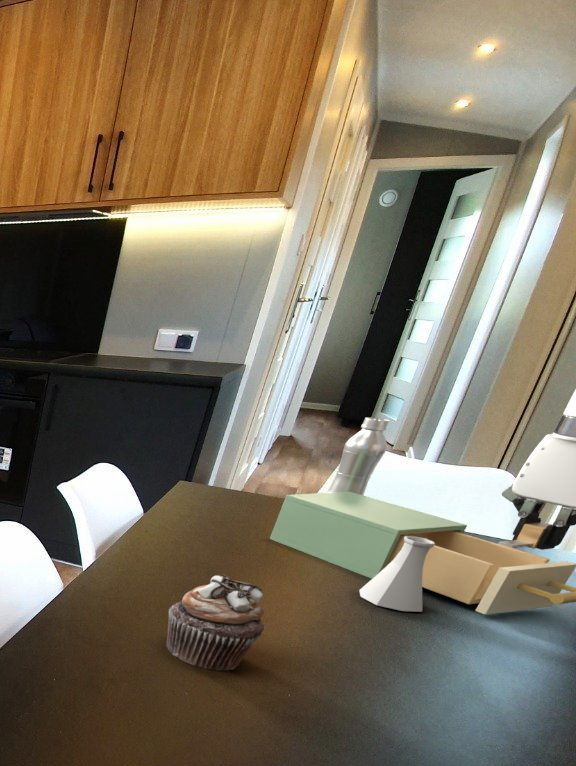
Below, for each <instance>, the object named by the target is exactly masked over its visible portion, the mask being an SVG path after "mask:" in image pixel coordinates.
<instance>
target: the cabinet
mask: <svg viewBox="0 0 576 766" xmlns="http://www.w3.org/2000/svg"><path fill="white" fill-rule="evenodd" d="M467 527H468V524H465V523H461V522H458V521H455V520H451V519H447V518H443V517H440V516H437V515H433V514H430V513H425V512H422V511H419V510H416V509H413V508H409V507H404V506H401V505H398V504H394V503H391V502H387V501H384V500H380V499H377V498H374V497H370V496H365V495H364V496H363V495H359V494H356V493H352V492H331V493H326V492H315V493H313V492H312V493H298V494H296V493H295V494H286V496H285V499H284V500H283V503H282V506H281V509H280V511H279V513H278V516H277V518H276V521H275V524H274V526H273V529H272V532H271V533H270V537H269V540H271V541H273V542H276V543H277V544H281V545H284V546H286V547H289V548H291V549H294V550H297V551H299V552H302V553H305V554H307V555H310V556H312V557H315V558H317V559H320V560H321V561H325V562H327V563H330V564H332V565H335V566H337V567H340V568H343V569H346V570H347V571H350V572H353V573H356V574H358V575H360V576H363V577H366V578H368V579H370V580H372V579H373V578H374V577H375V576H376V575H378V574H379V573H380V572H381V571H382V570H383V569H384V568H385V566H386V564H387V562H388V560H389V558H390V556H391V554H392V552H393V549H394V547H395V545H396V543H397V541H398V539H399V537H400V535H401V534H414V533H427V532H440V531H456V532H460V533H463V534H465V531H466V529H467Z"/></svg>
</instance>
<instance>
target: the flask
mask: <svg viewBox="0 0 576 766" xmlns="http://www.w3.org/2000/svg"><path fill="white" fill-rule="evenodd" d="M404 541H405V543H404V545H403V547H402V549H401V551H400V552H399V553H398V555H397V556H396V557H395V558H394V560H393V561H392V562H391V563H389V564H388V565H387V566H386V567H385V568H384V569H383V570H382V571H381V572H380V573H379V574H378V575H376V576H375V577H374V578H373V579H370V580H369V581H368V582H367V583H365V585H363V586H362V587H361V588H360V589H359V597H360V598H362V599H363V600H366V601H368V602H370V603H372V604H373V605H376V606H379V607H382V608H388V609H392V610H397V611H401V612H421V613H422V612H423V587H422V575H423V566H424V561H425V557H426V555H427V553H428V551H429V549H430V548H432V547H434V545H435V543H434V542H433V541H431V540H428V539H426V538H420V537H415V536H405V537H404Z"/></svg>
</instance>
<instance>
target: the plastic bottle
mask: <svg viewBox="0 0 576 766" xmlns="http://www.w3.org/2000/svg"><path fill="white" fill-rule="evenodd" d="M389 423H390V420H389V419H386V418H381V417H371V416H370V417H369V416H368V417H365V418H364V420H363V422H362V424H361V426H360V428H361V429H360V430H359V431H358V432H356V433H355V434H354V435H352V436H351V437H349V439H348V440H347V441H345V444H344V447H343V450H342V455H341V459H340V462H339V466H338V470H337V471H336V475H335V477H334V479H333V480H332V482H331V484H330V486H329V488H328V490H327V491H326V492H325V493H331V492H352V493H356V494H359V495H363V496H365V493H366V490H367V487H368V484H369V482H370V479H371V477H372V475H373V474H374V472H375V469H376V467H377V466H378V464H379V463H380V461H381V460H382V458H383V456H384V454H385V453H386V452H387V449H388V443H387V440H386V437H385V435H384V431H386V430H387V429H388V425H389Z"/></svg>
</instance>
